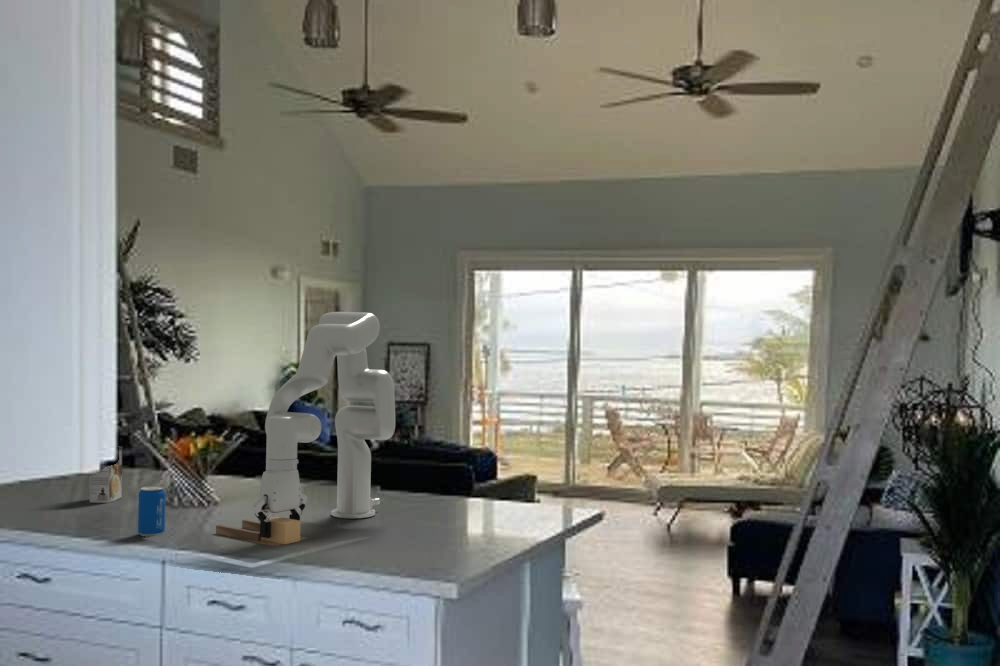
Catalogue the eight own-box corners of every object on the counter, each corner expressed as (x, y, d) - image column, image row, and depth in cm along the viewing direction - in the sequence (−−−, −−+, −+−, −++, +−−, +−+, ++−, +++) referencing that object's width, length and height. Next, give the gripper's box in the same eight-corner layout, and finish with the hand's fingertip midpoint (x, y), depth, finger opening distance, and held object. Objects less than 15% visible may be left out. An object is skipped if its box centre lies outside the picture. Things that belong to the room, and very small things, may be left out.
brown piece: (248, 530, 250) (248, 519, 250) (308, 541, 238) (308, 529, 238) (212, 537, 241) (213, 526, 241) (273, 550, 229) (274, 537, 229)
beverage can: (148, 538, 238) (149, 490, 238) (132, 535, 242) (133, 488, 242) (170, 534, 244) (171, 487, 244) (153, 531, 247) (154, 485, 247)
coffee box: (101, 497, 295) (102, 445, 295) (122, 497, 294) (123, 446, 294) (88, 502, 285) (89, 449, 285) (109, 503, 285) (110, 449, 285)
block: (277, 536, 239) (278, 516, 239) (300, 540, 235) (300, 520, 235) (262, 539, 235) (262, 519, 235) (285, 544, 230) (285, 523, 230)
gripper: (296, 460, 245) (294, 526, 245) (244, 467, 230) (242, 538, 230) (317, 463, 241) (315, 530, 241) (265, 470, 226) (264, 542, 226)
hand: (280, 534), depth 236 cm, fingers open, 9 cm apart
